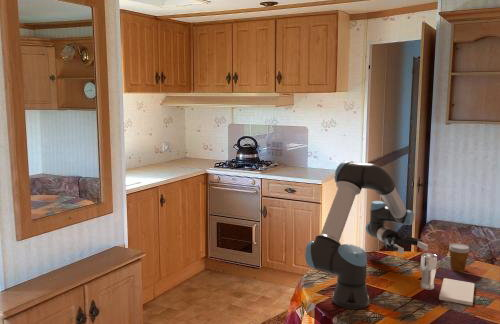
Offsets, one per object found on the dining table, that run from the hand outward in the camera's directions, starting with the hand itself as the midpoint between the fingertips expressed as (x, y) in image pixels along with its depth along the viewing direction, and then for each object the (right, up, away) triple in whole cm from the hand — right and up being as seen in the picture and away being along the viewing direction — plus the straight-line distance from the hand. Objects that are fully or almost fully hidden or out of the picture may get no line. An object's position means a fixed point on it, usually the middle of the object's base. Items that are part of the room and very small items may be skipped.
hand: (415, 249), depth 221 cm
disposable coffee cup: (+26, -13, +15) cm, 33 cm away
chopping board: (+14, -17, -13) cm, 25 cm away
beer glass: (+3, -16, -7) cm, 18 cm away
